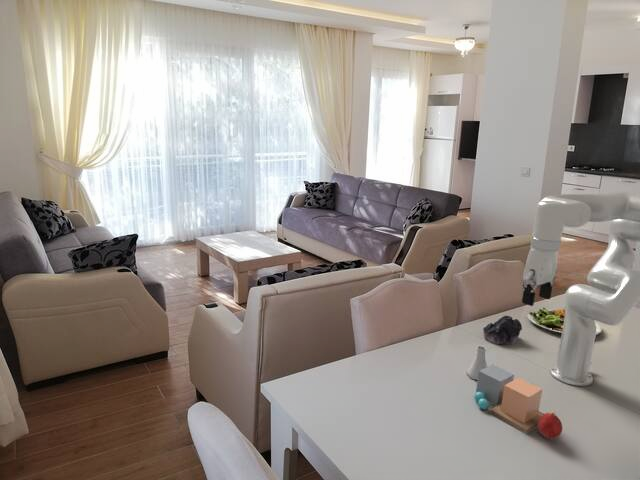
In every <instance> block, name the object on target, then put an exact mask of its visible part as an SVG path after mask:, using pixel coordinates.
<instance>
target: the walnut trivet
mask: <svg viewBox="0 0 640 480" xmlns="http://www.w3.org/2000/svg"><path fill="white" fill-rule="evenodd" d="M501 404H502V403H501ZM501 404H499V405H498V406H496V405H495V407H493V408H490V411H489V414H491V415H492V416H493V417H496V418H498V419H500V420H501V421H503V422H504V423H507V424H509V425H510V426H512V427H514V428H516V429H518V430H519V431H521V432H523V433H525V434H527V435H528V433H530V432H531V431H533V430H534V429H536V428H538V420H539V418H540V417H541V416H543V415H544V414H545V413H543V412H541V411H540V410H539V411H538V415H536V416H535V417H533V418H532V419H530V420H529V421H527V422H526V423H523V422H521V421H519V420H517V419H515V418H513V417H512V416H510V415H508V414H506V413H504V412H502V411H501Z"/></svg>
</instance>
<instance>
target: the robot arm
mask: <svg viewBox="0 0 640 480" xmlns="http://www.w3.org/2000/svg"><path fill="white" fill-rule="evenodd" d="M534 215H535V217H534V222H533V229H532V233H531V234H532V235H531V239H530V249H529V252H528V254H527V257H526V261H525V262H526V263H525V266H524V270H523V276H522V290H523V291H522V292H523V293H522V299H521V303H523V304H524V305H527V306H530V307H532V306H534V303H535V297H536V292H535V291H536V289H537V287H538V286H540V287H539V288H540V289H539V293H538V295H539V296H538V297H540V298H543V299H546V300H550V299H551V297H552V291H553V286H554V284H555V283H554V281H555V279H556V274H557V271H558V269H557V265H558V253H559V252H560V248H561V243H562V237H563V231H564V227H566V228H580V227H581V228H582V227H583V226H585V225H587V224H588V223H590V222H591V223H604V222H609V223H608V244H607V245H608V246H607V248H606V250H605V252H603V254H602V255H601V257H599V259H598V260H597V262H596V263H595V264H594V265H593V266H592V268H591V269H590V271H589V272H588V275H587V278H586V279H587V283H588V284H589V285H587V284H585V283H584V284H582V283H576V284H573V285H570V286H569V287H568V288H567V290H566V291H565V293H564V309H565V318H564V324H563V330H562V333H561V336H560V343H559V347H558V353H557V359H556V363H555V364H552V365H551V366H550V369H549V373H550V374H551V375H552V376H553V377H554V379H557V380H559V381H560V382H563V383H565V384H568V385H573V386H578V387H579V386H580V387H586V386H589V385H591V384H592V383H593V376H592V375H591V373H589V370H590V366H591V365H592V360H591V359H592V355H593V352H594V346H595V340H596V336H597V334H596V324H595V322H597V323H601V324H605V325H606V326H612V327H615V326H617V325H619V324H621V323H622V321H624V320H625V318H627V316H628V315H629V313H630V312H631V311H632V309H633V308H634V307H635V305H636V304H637V302H638V301H640V270H639V269H636V268H633V267H632V266H633V264H634V262H635V260H636V255H635V254H636V252H635V251H634V248H633V246H632V243H631V241H633V242H637V243H640V193H635V192H628V191H615V192H606V193H605V192H604V193H582V194H577V193H576V194H574V193H571V194H568V193H567V194H563V193H562V194H561V193H560V194H555V195H554V194H552V195H548V196H545V197H543V198H542V199H541V200H540V201H539V202H537V204H536V209H535V214H534Z"/></svg>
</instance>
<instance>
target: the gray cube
mask: <svg viewBox="0 0 640 480" xmlns="http://www.w3.org/2000/svg"><path fill="white" fill-rule="evenodd" d="M514 377H515V374H514V373H512V372H510V371H507V370H505V369H504V368H501V367H499V366H497V365H495V364H491V365H488V366H487V367H486V368H484V369H482V370H480V371H479V374H478V380H476V382H477V383H476V390H475V393H477V392H482V393H483V394H484V395H485V399H486V400H487V401H488V402H489V404H490V403H491V404H492V405H493V406H495V407H496V406H498V405H499V404H501V403H502V398H503V391H504V385H506V384H508V383H510V382H511V381H513V380H514Z"/></svg>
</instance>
